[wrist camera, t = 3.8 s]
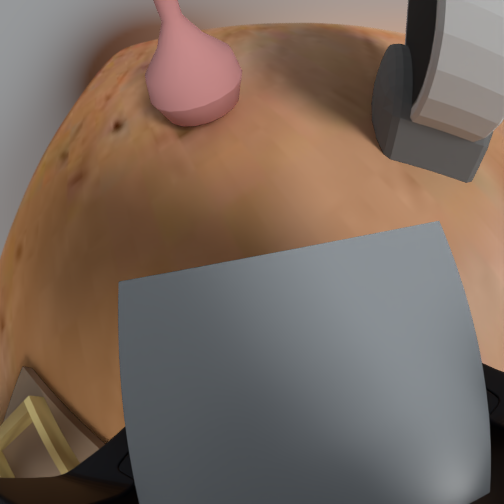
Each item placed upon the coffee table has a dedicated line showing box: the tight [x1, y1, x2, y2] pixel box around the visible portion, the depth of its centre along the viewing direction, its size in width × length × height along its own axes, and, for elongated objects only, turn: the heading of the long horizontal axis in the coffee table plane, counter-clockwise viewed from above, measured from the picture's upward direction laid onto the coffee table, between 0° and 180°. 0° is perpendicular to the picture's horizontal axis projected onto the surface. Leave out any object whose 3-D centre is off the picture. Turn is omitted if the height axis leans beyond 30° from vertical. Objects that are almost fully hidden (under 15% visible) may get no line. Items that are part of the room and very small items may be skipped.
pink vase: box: [145, 0, 242, 126], centre depth 19 cm, size 8×8×12 cm
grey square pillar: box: [118, 221, 491, 504], centre depth 9 cm, size 4×5×12 cm
